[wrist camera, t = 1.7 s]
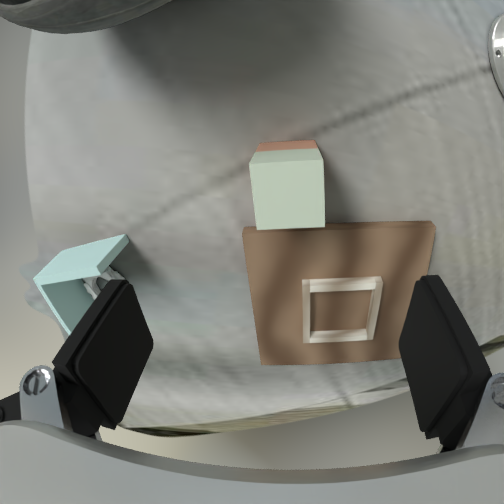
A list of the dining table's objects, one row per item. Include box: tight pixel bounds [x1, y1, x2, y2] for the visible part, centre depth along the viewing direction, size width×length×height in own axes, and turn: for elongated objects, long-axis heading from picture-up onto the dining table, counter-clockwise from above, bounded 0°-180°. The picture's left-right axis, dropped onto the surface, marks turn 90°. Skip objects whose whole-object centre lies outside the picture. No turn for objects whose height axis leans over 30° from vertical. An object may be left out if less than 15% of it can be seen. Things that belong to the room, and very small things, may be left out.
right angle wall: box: [33, 234, 129, 335], centre depth 35 cm, size 12×12×8 cm
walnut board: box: [242, 221, 436, 365], centre depth 34 cm, size 20×20×3 cm
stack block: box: [249, 140, 325, 230], centre depth 25 cm, size 5×5×8 cm
